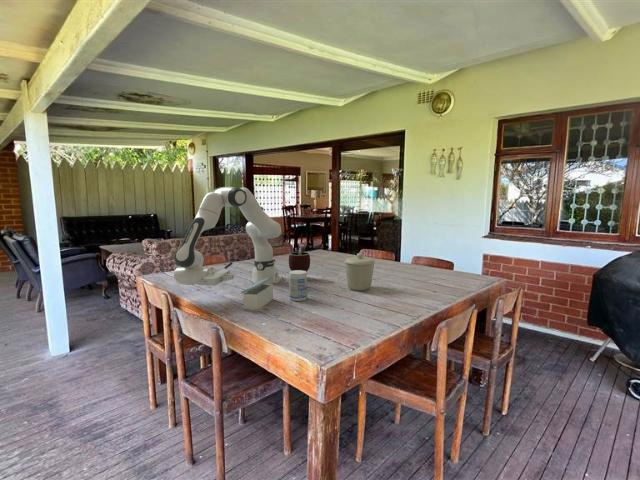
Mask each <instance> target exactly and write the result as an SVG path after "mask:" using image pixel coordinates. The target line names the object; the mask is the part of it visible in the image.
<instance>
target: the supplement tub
mask: <svg viewBox="0 0 640 480" xmlns="http://www.w3.org/2000/svg"><path fill="white" fill-rule="evenodd" d="M307 272H308V271H307ZM307 272H306V271H302V270H294V271H291V270H290V271H289V274H288V297H289V300H291V301H294V302H303V301H306V299H308V281H307V277H308V273H307Z"/></svg>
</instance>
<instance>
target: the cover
mask: <svg viewBox="0 0 640 480" xmlns="http://www.w3.org/2000/svg"><path fill="white" fill-rule="evenodd" d="M270 279H272V277H269V278H267V279H264V280H262V281H260V282H258V283H256V284H255V283H253V285H251V286H248V287H247V288H245V289H243V290H241V291H240V294H241V295H243V294H244V293H246V292H248V291H250V290H252V289H255V288H257V287H259V286H260V285H262V284H264V283H265V282H267V281H269V280H270Z"/></svg>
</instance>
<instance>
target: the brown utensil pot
mask: <svg viewBox="0 0 640 480" xmlns="http://www.w3.org/2000/svg"><path fill="white" fill-rule="evenodd" d="M288 266H289V270H290V271H294V270H302V271H306V272H308V271H309V269H310V267H311V256H310V252H307V251H302V246H300V247H299V249H298V251H294V252H289V254H288ZM309 280H310V277H308V276H307V282H308V281H309Z"/></svg>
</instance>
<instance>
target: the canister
mask: <svg viewBox="0 0 640 480" xmlns="http://www.w3.org/2000/svg"><path fill="white" fill-rule="evenodd" d="M343 262H344V264H345V273H346V284H347V287H348V289H350V290H353V291H359V292H360V291H366V290H367V291H368V290H369V289H371V286H372V282H373V276H374V275H373V274H374V268H375V263H376V260H374V259H373V258H371V257H367V256H364V255H363V253H359V252H358V253H357V254H356V256H351V257H347V258H346V259H345V260H344V261H343Z"/></svg>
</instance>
